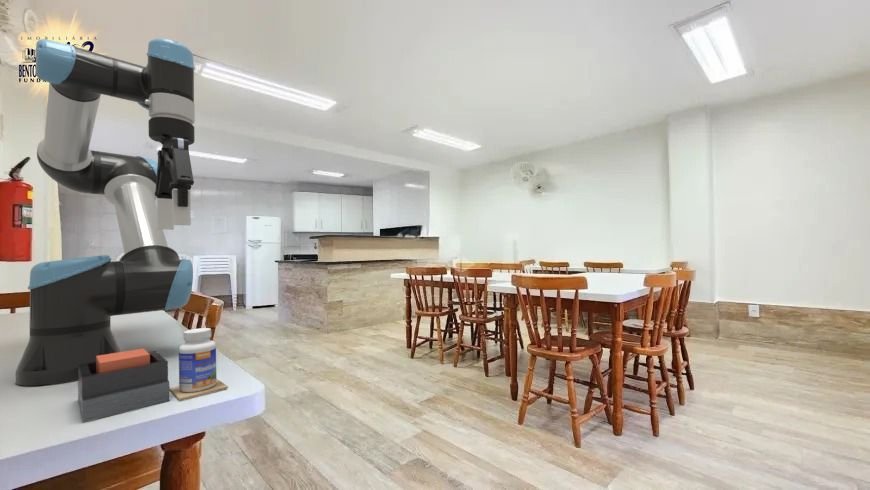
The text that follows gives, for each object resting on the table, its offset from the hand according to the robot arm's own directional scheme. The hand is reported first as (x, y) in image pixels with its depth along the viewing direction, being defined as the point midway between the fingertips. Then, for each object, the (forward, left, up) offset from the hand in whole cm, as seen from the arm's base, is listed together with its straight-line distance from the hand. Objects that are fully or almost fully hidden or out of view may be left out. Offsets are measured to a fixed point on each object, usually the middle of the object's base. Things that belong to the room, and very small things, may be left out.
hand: (173, 227), depth 74 cm
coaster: (+15, 0, -29) cm, 32 cm away
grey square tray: (+11, -9, -29) cm, 32 cm away
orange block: (+11, -9, -27) cm, 30 cm away
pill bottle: (+15, 0, -28) cm, 32 cm away
